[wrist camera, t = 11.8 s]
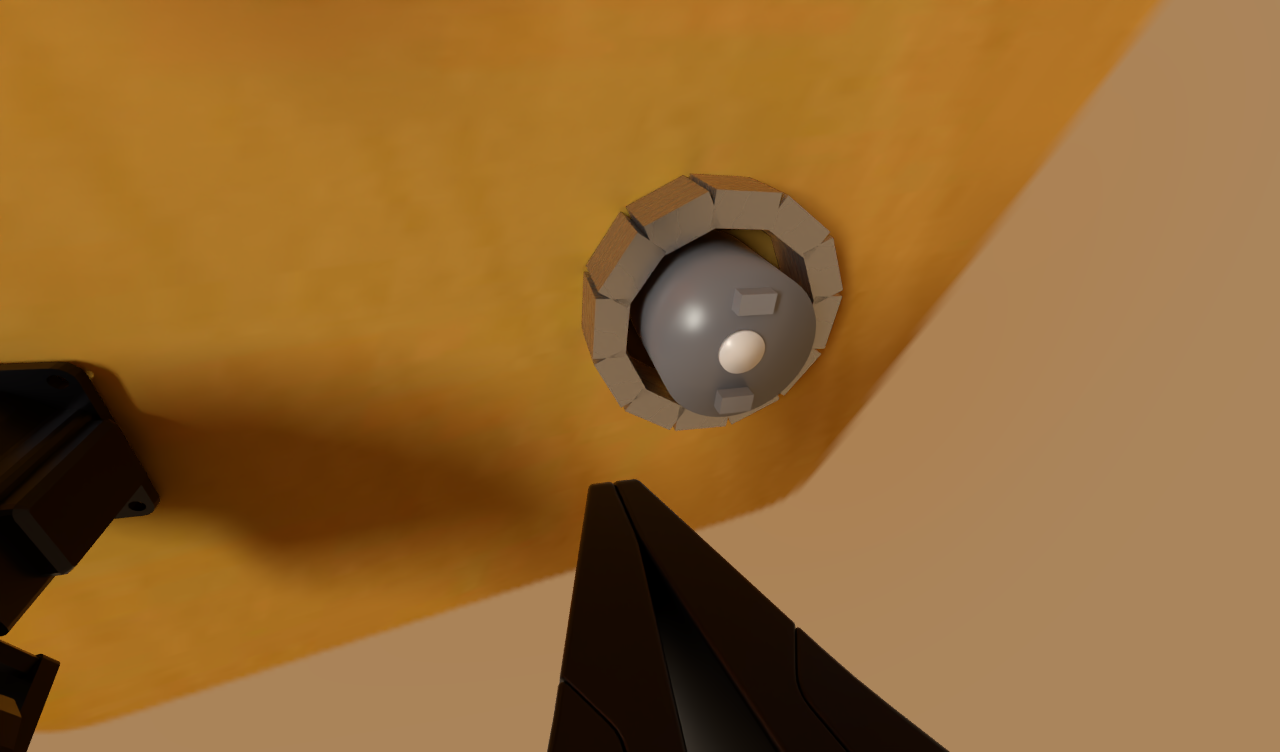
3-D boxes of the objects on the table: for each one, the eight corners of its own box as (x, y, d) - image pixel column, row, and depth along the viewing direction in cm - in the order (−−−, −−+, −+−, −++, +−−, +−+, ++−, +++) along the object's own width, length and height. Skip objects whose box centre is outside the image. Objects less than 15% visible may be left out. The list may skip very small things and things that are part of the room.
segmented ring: (579, 402, 21) (588, 438, 19) (587, 167, 16) (601, 183, 14) (773, 388, 24) (800, 419, 22) (834, 182, 19) (876, 197, 17)
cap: (625, 360, 21) (658, 433, 17) (632, 229, 18) (674, 279, 14) (744, 351, 22) (801, 416, 18) (769, 228, 19) (844, 274, 15)
